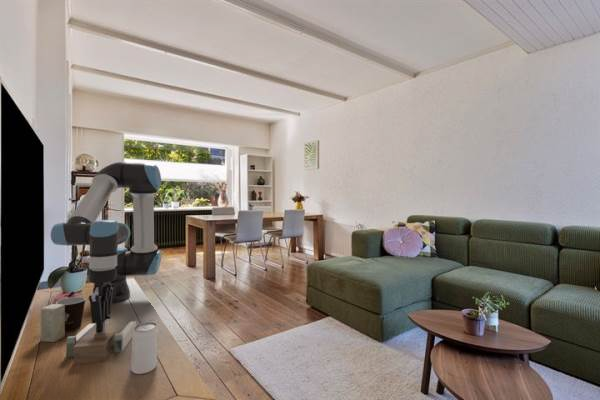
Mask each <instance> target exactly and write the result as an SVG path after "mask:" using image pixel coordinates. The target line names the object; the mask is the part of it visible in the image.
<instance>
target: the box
mask: <svg viewBox="0 0 600 400" xmlns="http://www.w3.org/2000/svg"><path fill="white" fill-rule="evenodd" d="M65 335H66V332H65V305H61V304H54V303H51V304H49V305H46V306H43V307H41V308H40V342H46V343H47V342H49V343H51V342H52V343H54V342H56V341H58V340H61V339H63V338H64V337H65Z"/></svg>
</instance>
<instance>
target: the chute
mask: <svg viewBox="0 0 600 400" xmlns="http://www.w3.org/2000/svg"><path fill="white" fill-rule="evenodd" d="M136 326H137V321H136V320H135V321H129V322H128V324H127V325H126V326H125V327H124V328H123V330H122V331H121V332H120V333H118V332H117V333H115V336H114V349H113V354H121V353H122V352H123V351H124V349H125V348H126V347H127V345H128V344H129V343H130V341H132V336H133V332H134V330H135V329H134V328H135V327H136ZM95 331H96V323H89V324H87V325H86V326H85V327H84V328H83V329H82V330H80V331H79V332H78V333H77V334H76V335H71V336H70V335H68V336H67V338H66V353H65V354H66V355H65V357H66V358H69V357H73V348H74V346H75V345H76V344H77V343H78V342H79V341H80V340H81V339H83V338H84V337H85V336H86V335H87V334H95Z"/></svg>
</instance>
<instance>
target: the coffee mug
mask: <svg viewBox="0 0 600 400" xmlns="http://www.w3.org/2000/svg"><path fill="white" fill-rule="evenodd" d="M56 304H61V305H65V333H68V332H72V331H76V330H78V329H80V328H81V327H82V323H83V316H84V310H85V306H86V305H85V304H86V297H84V296H83V297H70V298H65V299H62V300H59V301H57V302H56Z"/></svg>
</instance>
